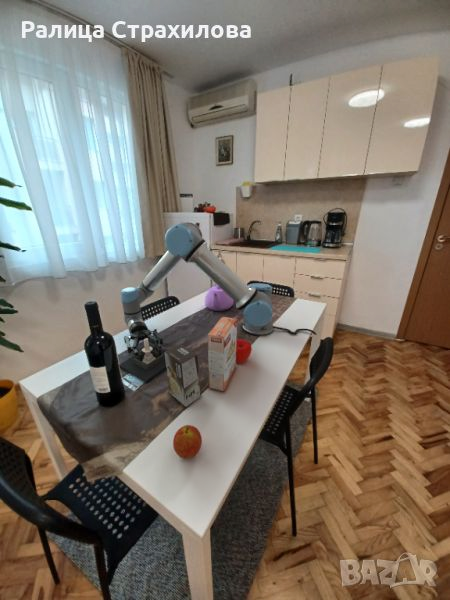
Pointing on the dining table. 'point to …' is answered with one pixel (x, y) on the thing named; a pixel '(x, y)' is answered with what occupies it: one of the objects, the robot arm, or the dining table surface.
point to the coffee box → (183, 374)
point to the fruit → (187, 441)
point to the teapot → (218, 299)
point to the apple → (242, 350)
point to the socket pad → (145, 366)
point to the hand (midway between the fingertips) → (150, 355)
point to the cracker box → (222, 352)
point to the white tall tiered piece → (147, 352)
